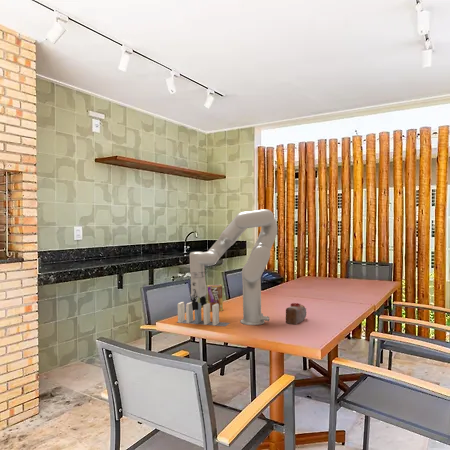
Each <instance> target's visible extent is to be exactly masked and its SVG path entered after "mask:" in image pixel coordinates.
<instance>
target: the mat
mask: <svg viewBox="0 0 450 450" xmlns="http://www.w3.org/2000/svg"><path fill="white" fill-rule="evenodd" d="M175 323H176V324H177V323H178V324H187V325H189V324H191V325H196V324H195V319H193V321H192V322H191V323H186V319H185V321H183V322H181V323H179V322H178V321H176V322H175ZM230 324H231V323H230V322H225V321H223V322H222V321H219V323H218V324H217V325H213V321H211V320H210V323H208V324H207V325H205V324H204V320H202V322H200V323H198V324H197V325H203V326H216V327H227V326H228V325H230Z"/></svg>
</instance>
